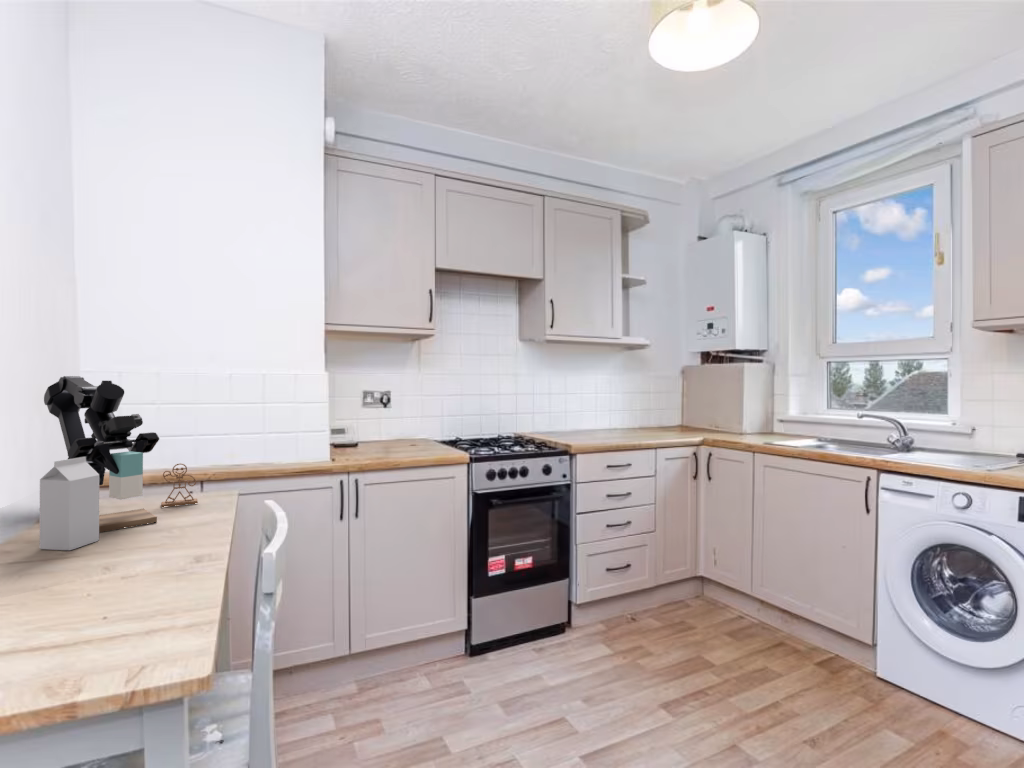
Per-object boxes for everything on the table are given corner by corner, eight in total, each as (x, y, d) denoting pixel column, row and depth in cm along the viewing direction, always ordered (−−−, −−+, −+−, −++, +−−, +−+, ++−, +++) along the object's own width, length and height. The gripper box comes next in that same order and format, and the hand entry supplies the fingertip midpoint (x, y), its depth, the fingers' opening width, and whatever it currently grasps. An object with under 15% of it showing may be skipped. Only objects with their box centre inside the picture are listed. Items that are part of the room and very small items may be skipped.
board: (86, 523, 130) (86, 517, 130) (143, 514, 139) (143, 508, 139) (97, 532, 122) (97, 526, 122) (156, 522, 131) (156, 516, 131)
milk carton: (99, 541, 116) (99, 457, 116) (69, 551, 109) (69, 462, 109) (70, 539, 117) (71, 456, 117) (39, 550, 110) (39, 461, 110)
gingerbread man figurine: (197, 501, 154) (197, 461, 154) (197, 504, 151) (198, 463, 151) (161, 505, 149) (161, 463, 149) (161, 508, 146) (161, 465, 146)
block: (109, 497, 130) (109, 453, 130) (130, 493, 134) (131, 451, 134) (120, 499, 128) (121, 455, 127) (142, 495, 132) (142, 452, 132)
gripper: (74, 405, 124) (100, 455, 119) (155, 402, 141) (181, 446, 136) (56, 436, 127) (81, 485, 123) (137, 429, 144) (162, 472, 140)
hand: (129, 471), depth 130 cm, fingers closed on block, 5 cm apart
